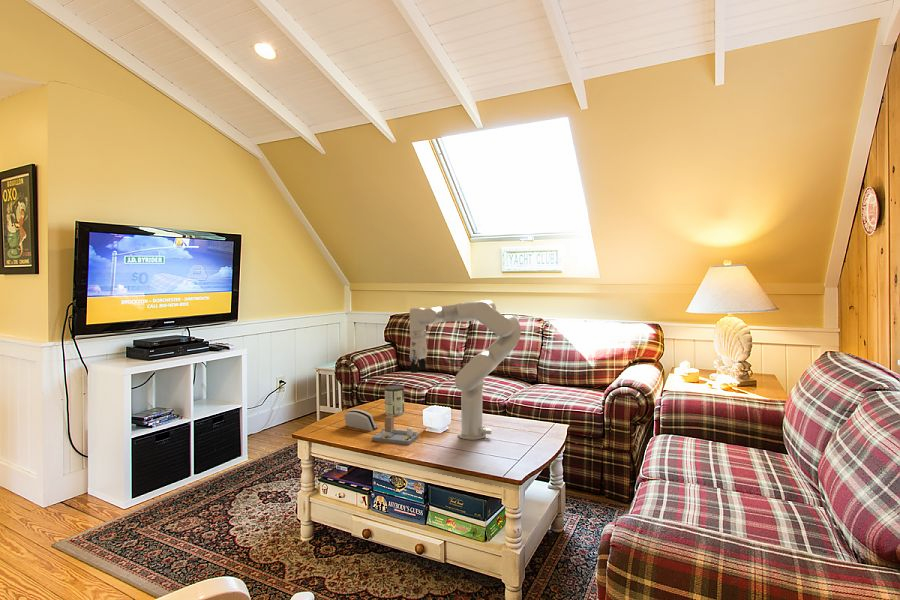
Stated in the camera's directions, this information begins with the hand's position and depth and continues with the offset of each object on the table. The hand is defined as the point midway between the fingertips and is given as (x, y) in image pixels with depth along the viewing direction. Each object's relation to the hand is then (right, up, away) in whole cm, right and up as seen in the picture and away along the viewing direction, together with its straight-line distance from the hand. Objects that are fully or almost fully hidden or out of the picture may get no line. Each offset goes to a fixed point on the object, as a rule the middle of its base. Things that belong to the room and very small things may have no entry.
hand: (418, 370), depth 233 cm
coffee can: (-15, -27, +31) cm, 44 cm away
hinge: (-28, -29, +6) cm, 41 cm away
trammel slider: (-13, -27, -11) cm, 32 cm away
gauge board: (-10, -29, -11) cm, 32 cm away
